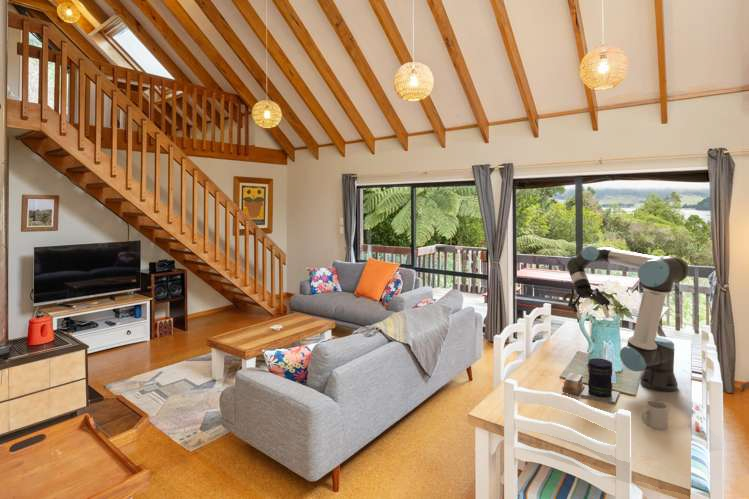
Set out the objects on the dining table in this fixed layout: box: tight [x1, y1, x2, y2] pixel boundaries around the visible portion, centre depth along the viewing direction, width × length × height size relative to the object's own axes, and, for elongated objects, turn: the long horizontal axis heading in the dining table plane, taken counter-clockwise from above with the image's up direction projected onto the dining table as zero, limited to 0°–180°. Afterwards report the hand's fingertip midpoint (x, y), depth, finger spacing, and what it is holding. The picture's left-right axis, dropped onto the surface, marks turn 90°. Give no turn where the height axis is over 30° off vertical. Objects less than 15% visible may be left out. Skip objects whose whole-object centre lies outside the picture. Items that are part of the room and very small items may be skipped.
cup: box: [640, 400, 669, 431], centre depth 170 cm, size 7×10×9 cm
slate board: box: [580, 384, 620, 405], centre depth 199 cm, size 14×12×1 cm
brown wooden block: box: [561, 372, 585, 397], centre depth 205 cm, size 7×12×6 cm, turn 142°
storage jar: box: [587, 357, 613, 398], centre depth 198 cm, size 10×10×15 cm
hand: (593, 317), depth 212 cm, fingers open, 13 cm apart
